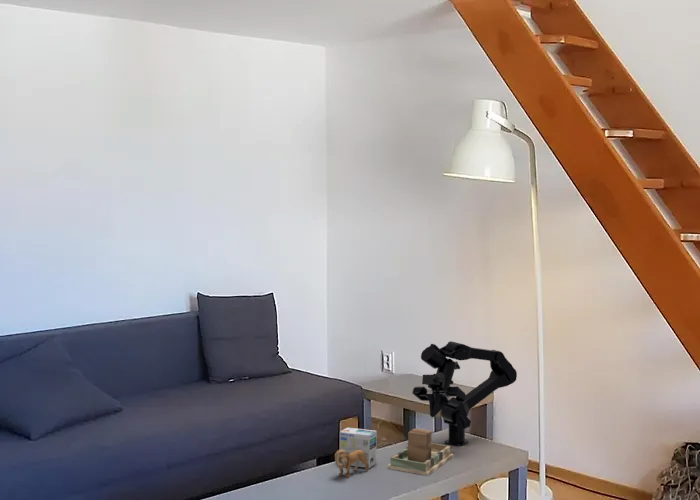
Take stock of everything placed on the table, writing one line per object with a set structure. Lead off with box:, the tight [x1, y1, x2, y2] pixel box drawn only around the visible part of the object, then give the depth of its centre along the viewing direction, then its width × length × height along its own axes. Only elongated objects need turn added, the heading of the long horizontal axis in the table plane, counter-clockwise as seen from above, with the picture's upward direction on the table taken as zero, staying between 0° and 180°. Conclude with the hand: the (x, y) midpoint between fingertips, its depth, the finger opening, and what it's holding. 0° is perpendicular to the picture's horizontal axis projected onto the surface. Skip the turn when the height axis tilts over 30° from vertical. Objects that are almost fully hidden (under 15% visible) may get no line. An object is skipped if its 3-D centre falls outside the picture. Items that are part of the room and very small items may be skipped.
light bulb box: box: [339, 427, 378, 469], centre depth 269 cm, size 11×7×11 cm, turn 68°
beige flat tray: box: [387, 442, 454, 477], centre depth 271 cm, size 21×14×4 cm, turn 151°
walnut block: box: [407, 428, 433, 463], centre depth 269 cm, size 5×6×9 cm
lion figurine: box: [334, 449, 370, 478], centre depth 259 cm, size 15×5×9 cm, turn 141°
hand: (432, 416), depth 280 cm, fingers closed
